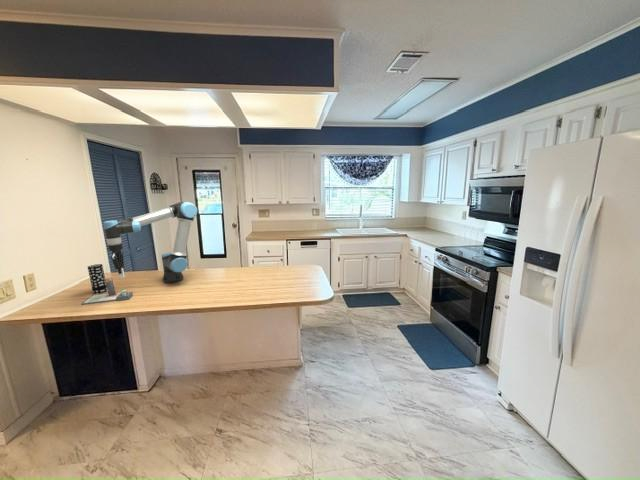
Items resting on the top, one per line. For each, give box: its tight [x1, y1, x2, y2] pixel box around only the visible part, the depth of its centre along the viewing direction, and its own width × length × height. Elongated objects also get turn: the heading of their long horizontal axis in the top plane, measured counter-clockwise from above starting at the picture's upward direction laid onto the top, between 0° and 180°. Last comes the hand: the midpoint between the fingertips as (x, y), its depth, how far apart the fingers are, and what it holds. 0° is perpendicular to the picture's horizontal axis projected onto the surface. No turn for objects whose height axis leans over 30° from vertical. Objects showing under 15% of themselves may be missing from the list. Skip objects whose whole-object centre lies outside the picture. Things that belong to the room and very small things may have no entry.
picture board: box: [81, 291, 121, 306], centre depth 185 cm, size 20×15×1 cm
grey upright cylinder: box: [105, 277, 117, 296], centre depth 187 cm, size 4×4×12 cm
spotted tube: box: [87, 263, 108, 295], centre depth 195 cm, size 8×8×20 cm
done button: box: [119, 289, 128, 295], centre depth 183 cm, size 4×4×4 cm
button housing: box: [116, 291, 134, 302], centre depth 184 cm, size 7×7×3 cm
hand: (122, 277), depth 181 cm, fingers closed
